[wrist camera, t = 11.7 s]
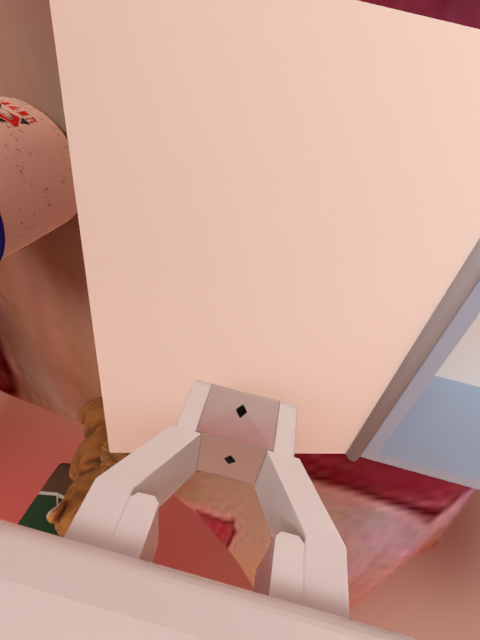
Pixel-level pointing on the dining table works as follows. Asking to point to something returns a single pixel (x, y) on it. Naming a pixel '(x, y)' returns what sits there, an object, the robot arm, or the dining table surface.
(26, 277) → the dining table surface
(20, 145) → the teacup with lid
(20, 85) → the dining table surface
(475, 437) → the box
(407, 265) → the lid
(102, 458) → the stuffed squirrel
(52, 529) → the beer bottle
